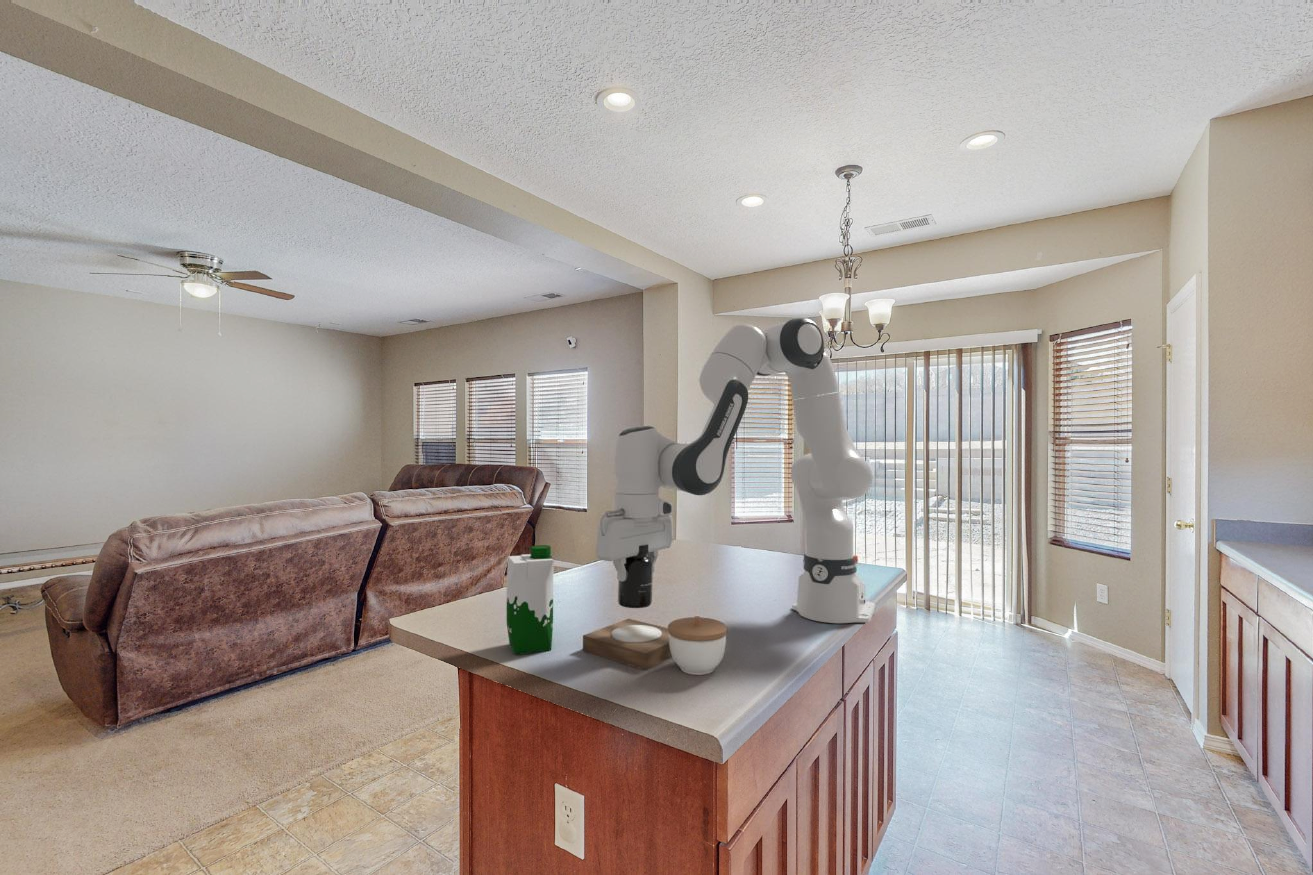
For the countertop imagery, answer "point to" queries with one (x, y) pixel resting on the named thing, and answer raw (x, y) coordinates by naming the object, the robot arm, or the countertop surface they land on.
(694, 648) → the lidded jar
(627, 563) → the supplement bottle
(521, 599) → the milk carton
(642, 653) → the brown flat wooden block
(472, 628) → the countertop surface
